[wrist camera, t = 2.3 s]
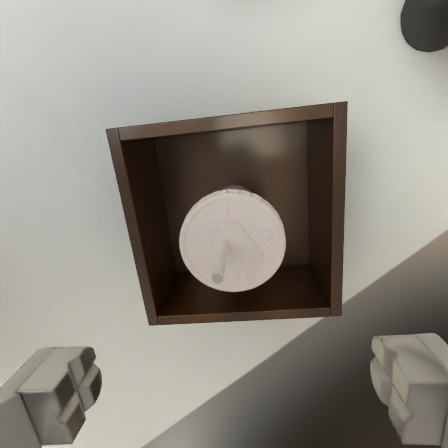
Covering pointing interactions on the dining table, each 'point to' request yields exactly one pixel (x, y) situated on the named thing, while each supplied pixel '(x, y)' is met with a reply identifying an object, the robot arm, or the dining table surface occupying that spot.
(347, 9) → the dining table surface
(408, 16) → the sundae
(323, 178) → the brown wooden open box
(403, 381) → the robot arm
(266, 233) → the smoothie
